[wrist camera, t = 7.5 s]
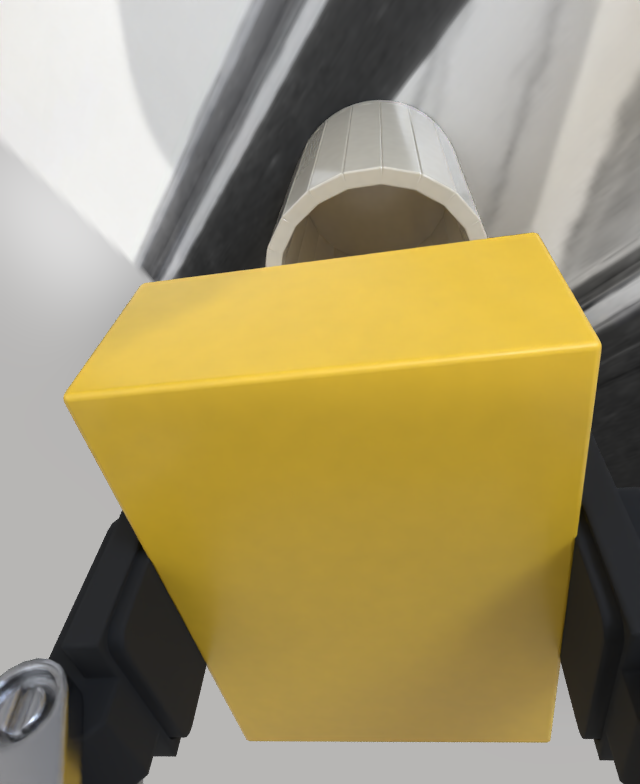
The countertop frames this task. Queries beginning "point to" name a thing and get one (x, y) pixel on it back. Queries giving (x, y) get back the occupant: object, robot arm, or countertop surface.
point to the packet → (359, 482)
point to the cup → (374, 188)
